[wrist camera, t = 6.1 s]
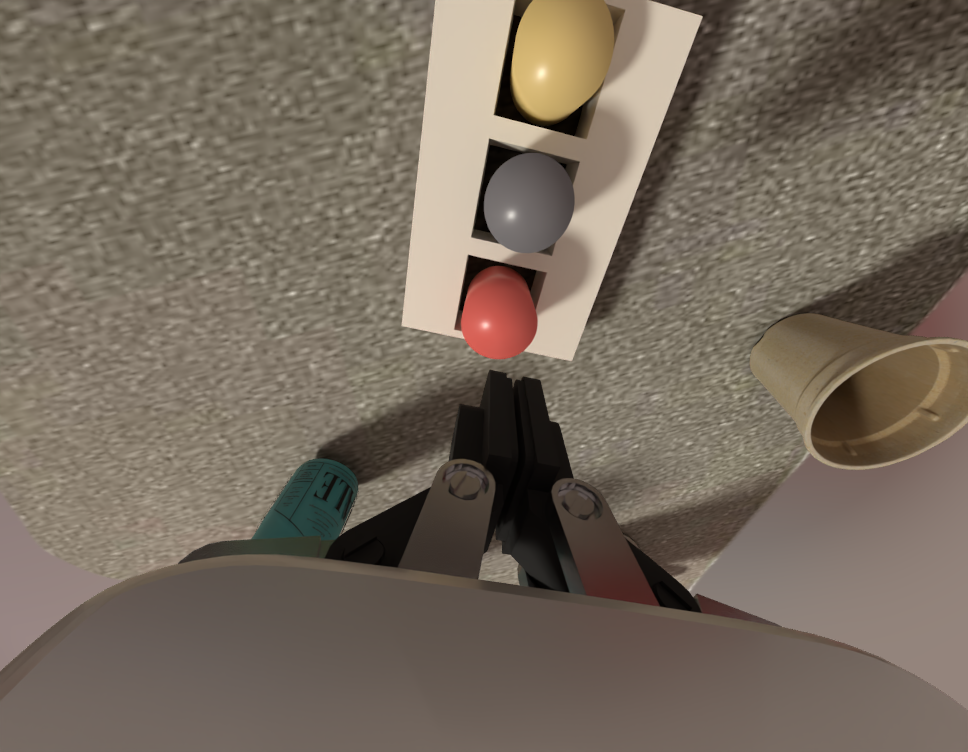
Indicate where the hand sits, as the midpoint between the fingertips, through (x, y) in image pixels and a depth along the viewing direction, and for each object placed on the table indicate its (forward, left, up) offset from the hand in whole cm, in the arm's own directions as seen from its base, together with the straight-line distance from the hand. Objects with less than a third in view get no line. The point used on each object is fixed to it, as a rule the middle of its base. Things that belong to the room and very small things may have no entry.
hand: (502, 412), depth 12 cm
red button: (0, 0, -14) cm, 14 cm away
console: (0, -6, -17) cm, 18 cm away
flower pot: (-24, 0, -17) cm, 29 cm away
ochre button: (0, -12, -15) cm, 19 cm away
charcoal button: (0, -6, -14) cm, 15 cm away
